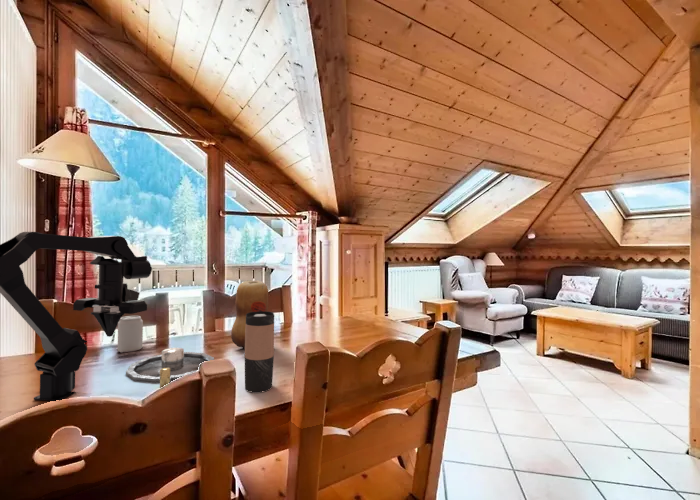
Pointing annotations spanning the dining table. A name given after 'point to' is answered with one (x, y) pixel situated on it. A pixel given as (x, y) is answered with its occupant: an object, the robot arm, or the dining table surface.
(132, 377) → the curvy grey metal tray
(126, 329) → the can
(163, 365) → the cover
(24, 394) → the dining table surface
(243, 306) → the butternut squash
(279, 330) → the dining table surface
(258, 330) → the travel mug
